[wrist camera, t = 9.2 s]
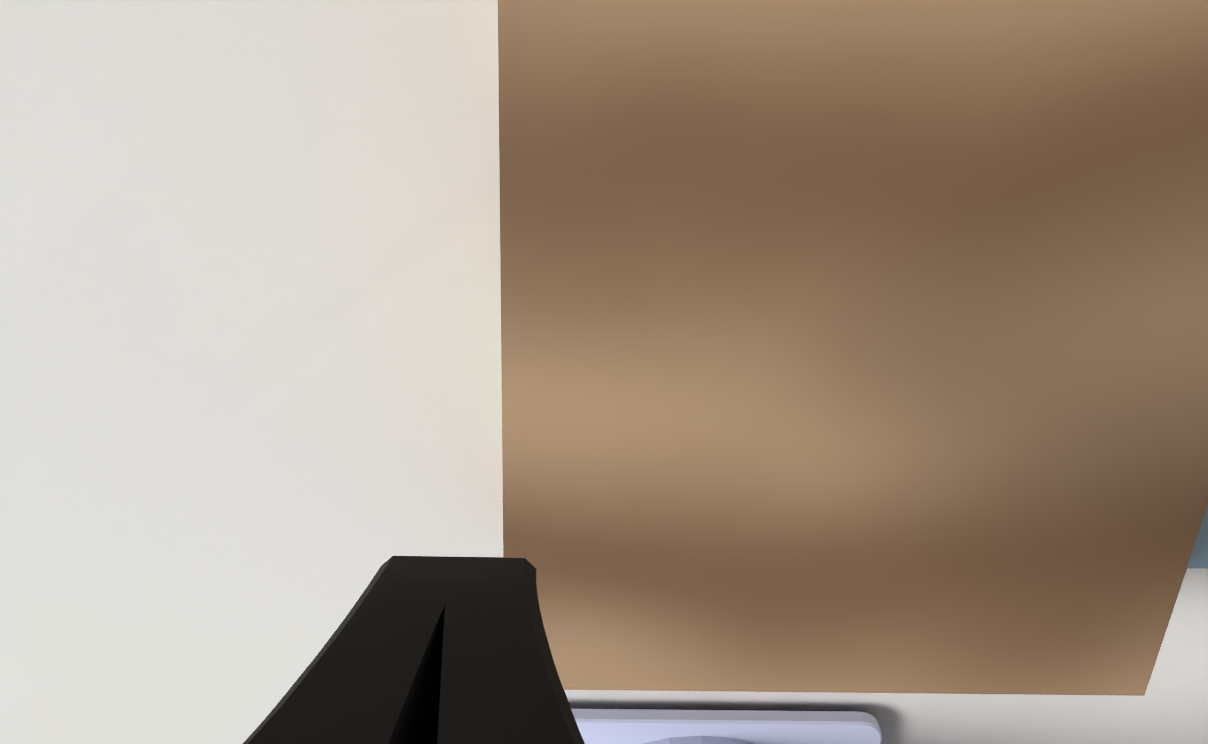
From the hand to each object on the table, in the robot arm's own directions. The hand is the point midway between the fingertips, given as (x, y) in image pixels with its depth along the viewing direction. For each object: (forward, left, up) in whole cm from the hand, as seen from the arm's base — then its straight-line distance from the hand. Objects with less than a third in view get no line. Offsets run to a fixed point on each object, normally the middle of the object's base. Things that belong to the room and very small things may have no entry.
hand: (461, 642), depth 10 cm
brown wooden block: (+3, -6, -10) cm, 12 cm away
